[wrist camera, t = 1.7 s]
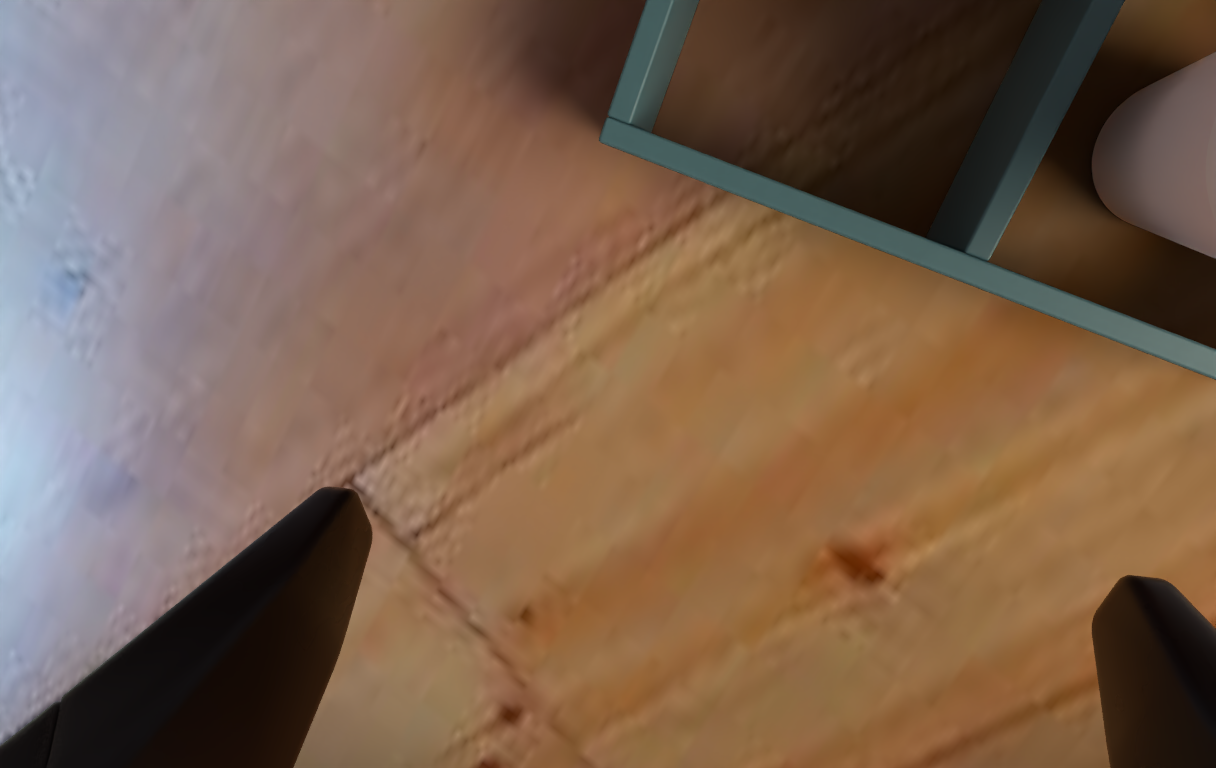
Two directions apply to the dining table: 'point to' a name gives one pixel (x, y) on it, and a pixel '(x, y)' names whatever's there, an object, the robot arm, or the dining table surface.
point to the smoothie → (1164, 158)
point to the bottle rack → (979, 193)
